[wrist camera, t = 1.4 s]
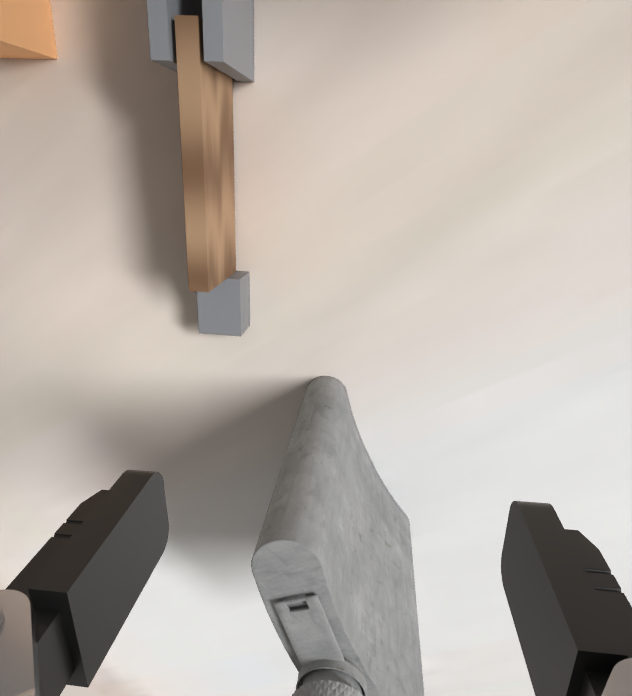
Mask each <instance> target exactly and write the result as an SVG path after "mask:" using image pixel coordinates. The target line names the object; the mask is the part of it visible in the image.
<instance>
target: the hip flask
mask: <svg viewBox="0 0 632 696" xmlns="http://www.w3.org/2000/svg"><path fill="white" fill-rule="evenodd" d="M251 567H252V572H253V575H254V578H255V581H256V584H257V586H258V589H259V592H260V595H261V597H262V600H263V602H264V605H265V607H266V610H267V612H268V614H269V616H270V619H271V621H272V623H273V625H274V627H275V629H276V631H277V633H278V635H279V637H280V639H281V641H282V643H283V645H284V647H285V649H286V651H287V653H288V654H289V656H290V658H291V660H292V662H293V663H294V665H295V667H296V668H297V670H298V672H299V674H298V682H297V685H296V690H295V693H294V694H292V696H424V687H423V676H422V664H421V652H420V641H419V629H418V617H417V606H416V594H415V582H414V570H413V559H412V547H411V535H410V524H409V519H408V517H407V516H406V514H405V513H404V512H403V511H402V509H401V508H400V507H399V506H398V504H397V503H396V501H395V500H394V499H393V497H392V496H391V494H390V493H389V491H388V490H387V488H386V486H385V485H384V483H383V481H382V480H381V478H380V476H379V474H378V473H377V471H376V469H375V467H374V465H373V463H372V461H371V459H370V457H369V455H368V453H367V450H366V448H365V446H364V444H363V441H362V439H361V437H360V434H359V431H358V429H357V426H356V423H355V420H354V417H353V414H352V410H351V407H350V403H349V399H348V394H347V391H346V388H345V386H344V385H343V384H342V382H340V381H339V380H338V379H336V378H334V377H330V376H321V377H318V378H316V379H314V380H313V381H311V383H310V384H309V385H308V387H307V390H306V393H305V396H304V399H303V402H302V406H301V409H300V412H299V415H298V418H297V421H296V424H295V427H294V430H293V434H292V437H291V440H290V443H289V446H288V449H287V452H286V455H285V458H284V462H283V465H282V468H281V471H280V474H279V477H278V480H277V483H276V487H275V490H274V493H273V496H272V499H271V502H270V505H269V508H268V511H267V515H266V518H265V521H264V524H263V527H262V530H261V533H260V536H259V539H258V543H257V546H256V549H255V552H254V555H253V558H252V564H251Z"/></svg>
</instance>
